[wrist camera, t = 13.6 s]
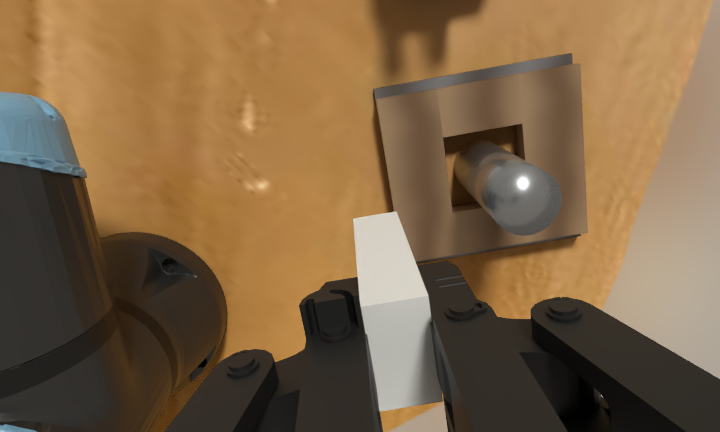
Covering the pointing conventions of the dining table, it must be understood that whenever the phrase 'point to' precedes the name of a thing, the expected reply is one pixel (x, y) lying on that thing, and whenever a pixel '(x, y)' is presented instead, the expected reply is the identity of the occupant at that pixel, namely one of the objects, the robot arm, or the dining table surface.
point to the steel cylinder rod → (508, 187)
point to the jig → (471, 114)
